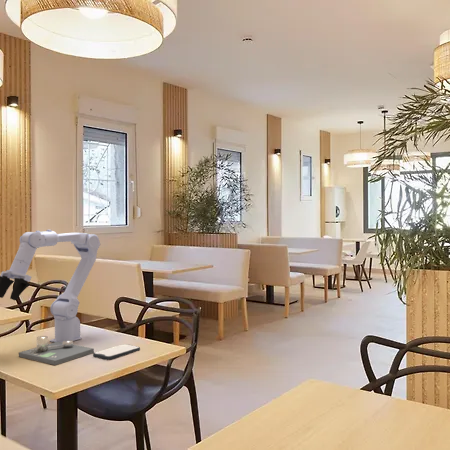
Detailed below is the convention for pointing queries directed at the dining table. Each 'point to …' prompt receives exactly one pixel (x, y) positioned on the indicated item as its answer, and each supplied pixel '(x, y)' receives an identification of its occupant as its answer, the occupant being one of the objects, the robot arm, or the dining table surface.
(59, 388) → the dining table surface
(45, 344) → the lever
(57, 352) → the dial board
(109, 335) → the dining table surface
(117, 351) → the phone case
